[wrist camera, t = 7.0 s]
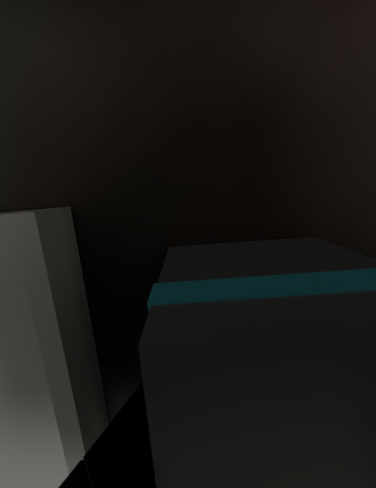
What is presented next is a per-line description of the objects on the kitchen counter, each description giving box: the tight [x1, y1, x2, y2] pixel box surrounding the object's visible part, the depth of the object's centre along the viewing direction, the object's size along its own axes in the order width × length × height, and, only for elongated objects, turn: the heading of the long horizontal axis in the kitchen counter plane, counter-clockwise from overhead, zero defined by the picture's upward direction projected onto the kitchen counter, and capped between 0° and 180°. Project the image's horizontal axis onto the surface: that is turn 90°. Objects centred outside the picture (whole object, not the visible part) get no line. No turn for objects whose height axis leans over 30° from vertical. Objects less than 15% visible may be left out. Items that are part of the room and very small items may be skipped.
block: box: [138, 237, 376, 488], centre depth 6 cm, size 5×7×5 cm, turn 4°
